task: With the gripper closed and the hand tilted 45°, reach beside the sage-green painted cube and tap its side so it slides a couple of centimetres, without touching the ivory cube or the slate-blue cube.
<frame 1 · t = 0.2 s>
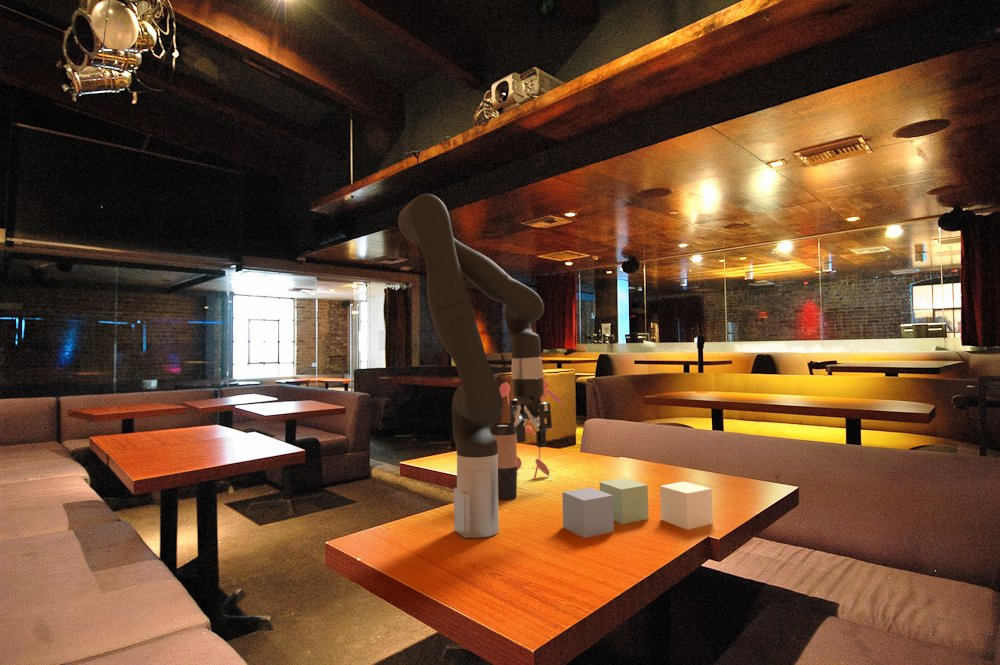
hand: (531, 444, 123), 18 cm above the table, tool pointing down, fingers open, 8 cm apart
ivory block: (686, 522, 119), on the table
slate block: (588, 529, 115), on the table
pink flower figurine: (534, 474, 170), on the table
travel mug: (503, 497, 142), on the table
sage block: (624, 517, 124), on the table
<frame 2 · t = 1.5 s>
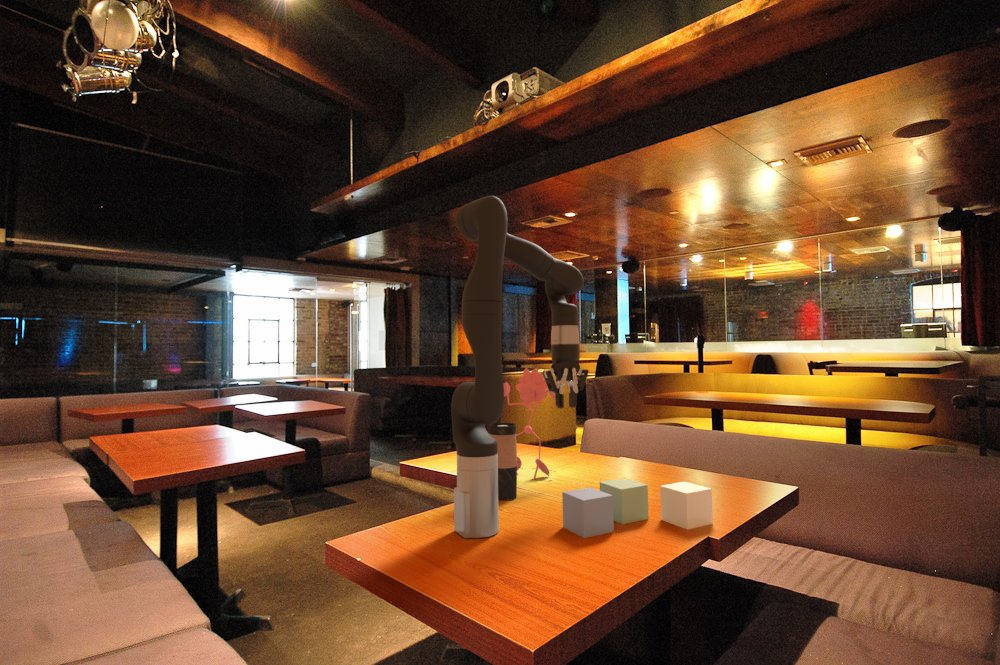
hand: (566, 407, 137), 25 cm above the table, tool pointing down, fingers open, 3 cm apart
nothing on the table moved.
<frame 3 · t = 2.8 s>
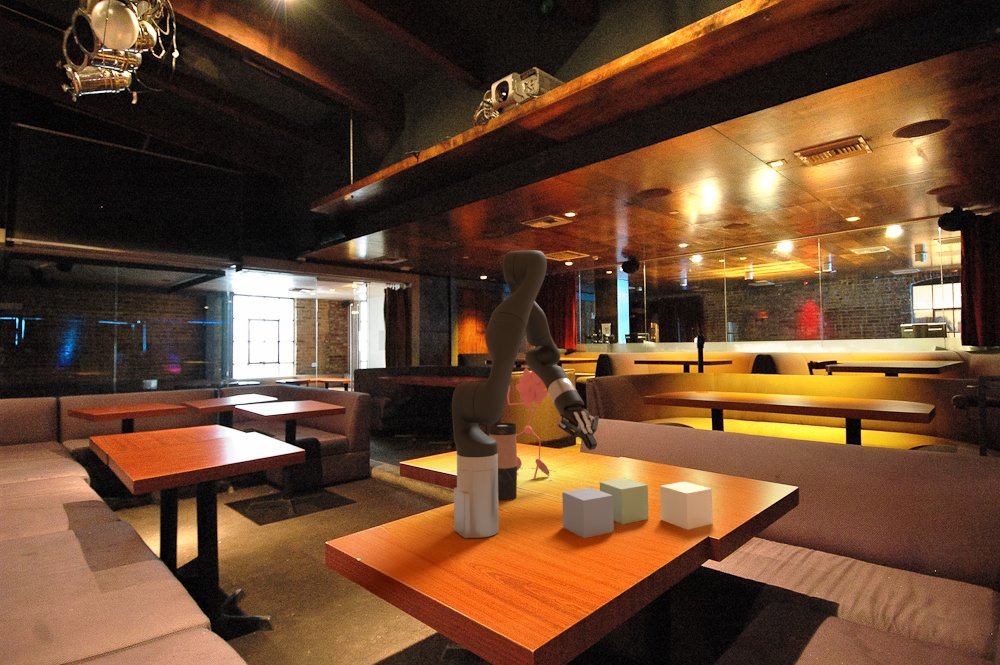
hand: (593, 447, 134), 15 cm above the table, tool tilted 45°, fingers closed
nothing on the table moved.
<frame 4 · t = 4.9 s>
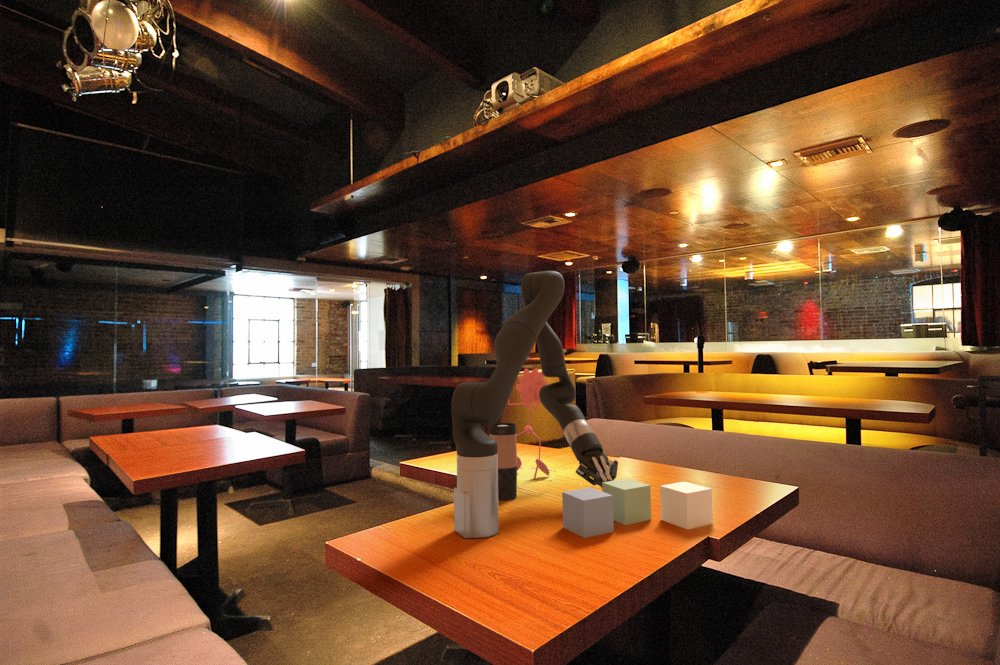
hand: (613, 497, 127), 4 cm above the table, tool tilted 45°, fingers closed
sage block: (626, 517, 123), on the table, touching gripper
everything else where it was.
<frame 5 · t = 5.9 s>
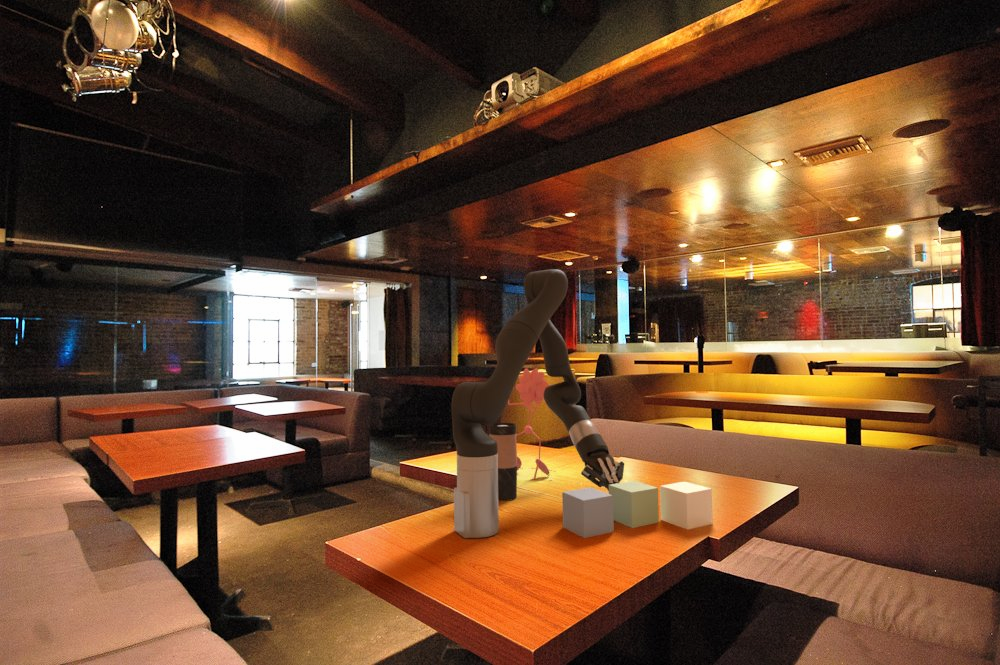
hand: (619, 498, 125), 4 cm above the table, tool tilted 45°, fingers closed
sage block: (633, 520, 121), on the table
everything else where it was.
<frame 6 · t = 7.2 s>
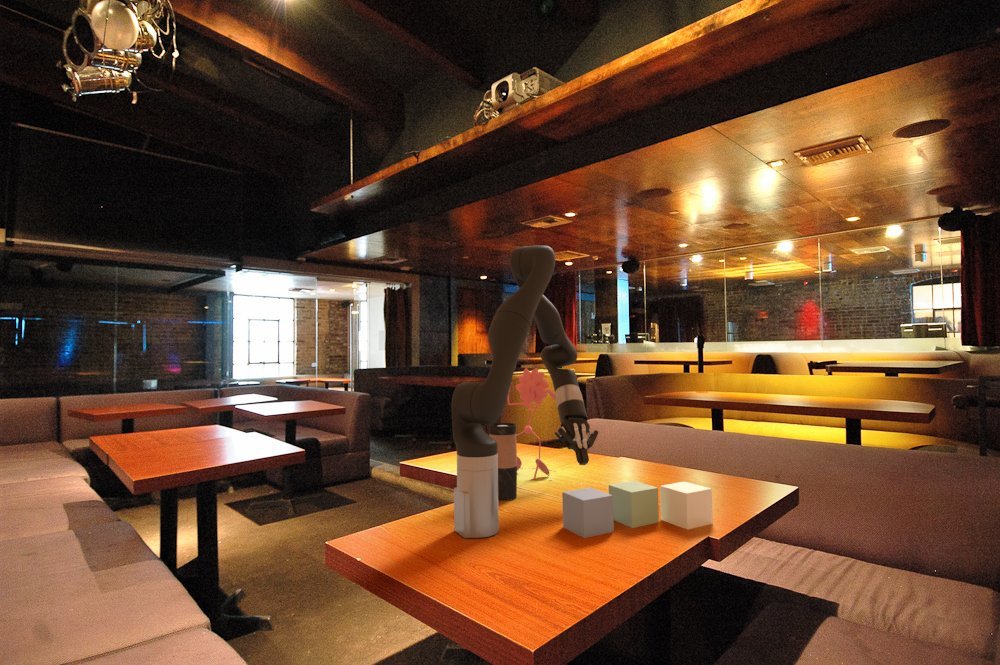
hand: (584, 463, 133), 11 cm above the table, tool tilted 35°, fingers closed
nothing on the table moved.
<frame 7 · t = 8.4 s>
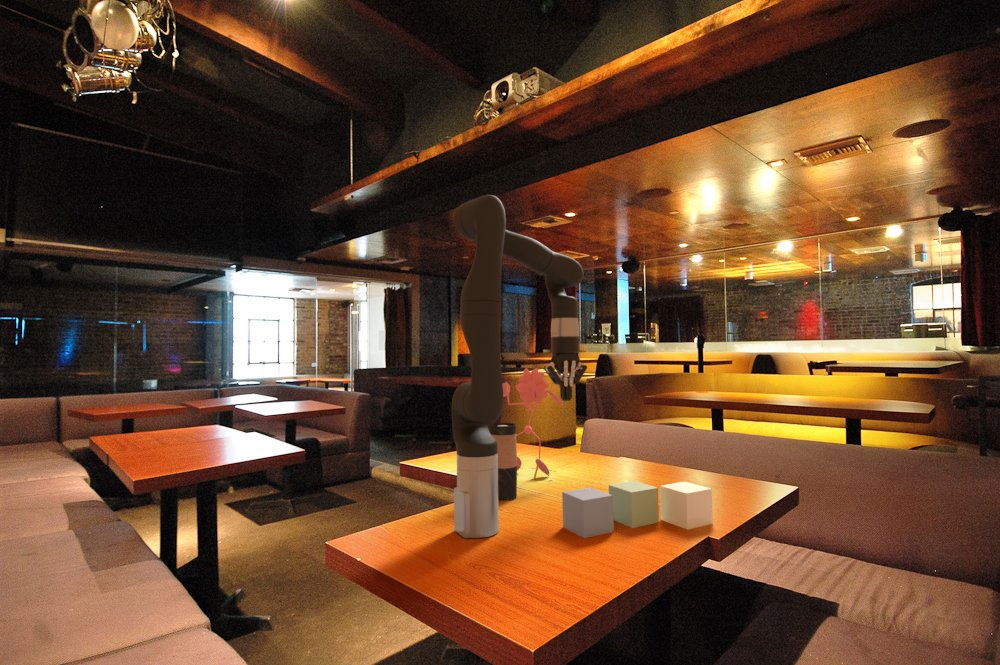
hand: (566, 400, 137), 27 cm above the table, tool pointing down, fingers closed
nothing on the table moved.
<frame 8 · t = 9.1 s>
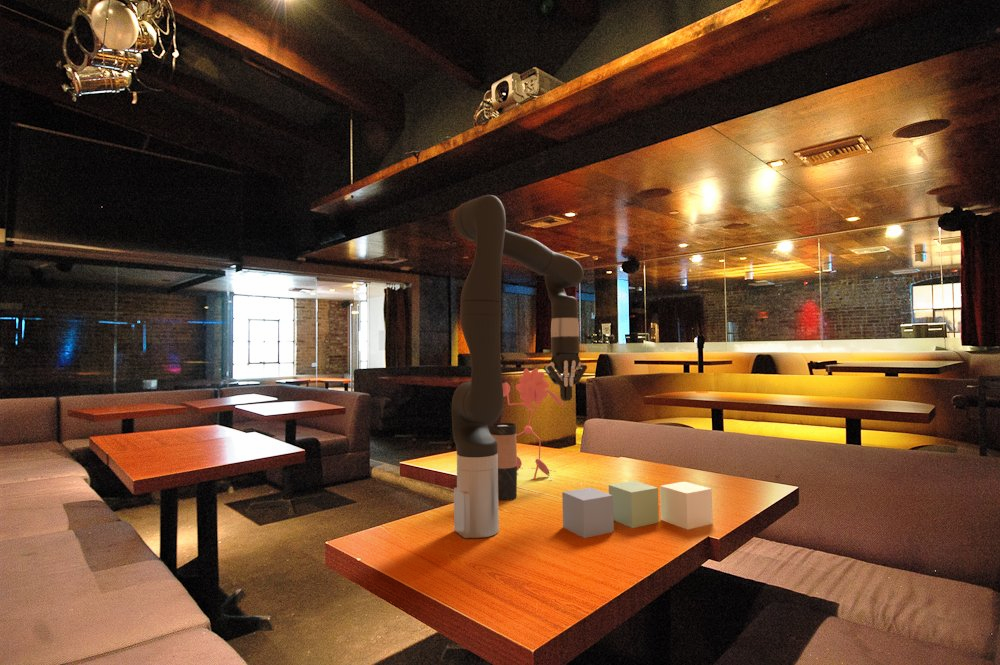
hand: (566, 400, 137), 27 cm above the table, tool pointing down, fingers closed
nothing on the table moved.
at the end: sage block moved 3.2 cm from its start; sage block tilted 0°; ivory block moved 0.1 cm from its start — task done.
